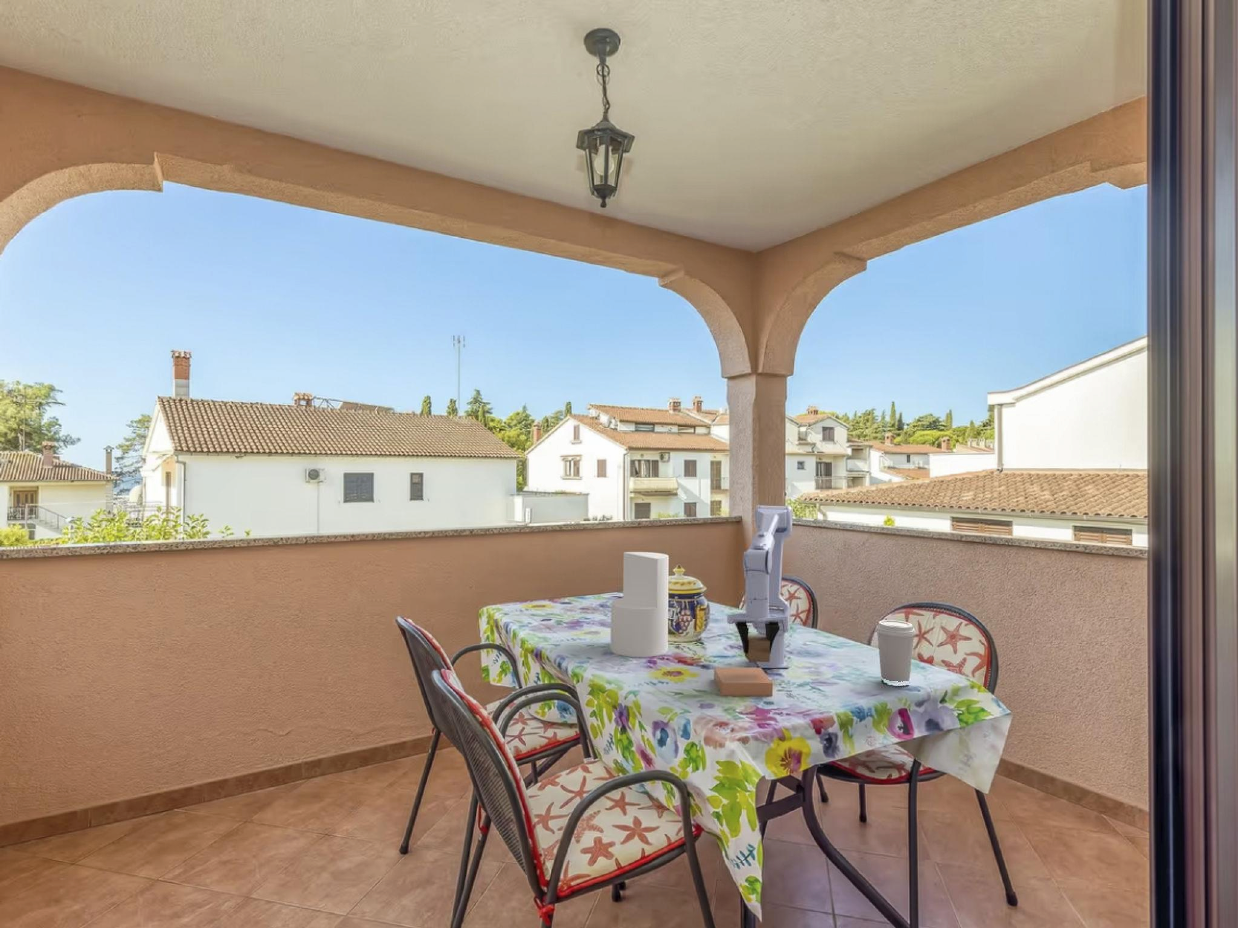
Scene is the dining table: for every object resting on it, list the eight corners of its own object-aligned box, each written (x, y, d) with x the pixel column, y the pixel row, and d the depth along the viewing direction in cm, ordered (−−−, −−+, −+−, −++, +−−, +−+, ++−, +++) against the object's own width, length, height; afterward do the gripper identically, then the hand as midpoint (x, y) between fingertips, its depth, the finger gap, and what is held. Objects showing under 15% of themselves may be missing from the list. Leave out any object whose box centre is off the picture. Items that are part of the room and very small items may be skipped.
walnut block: (744, 655, 162) (744, 636, 162) (764, 655, 162) (764, 636, 162) (749, 661, 157) (749, 641, 157) (769, 661, 157) (769, 641, 157)
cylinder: (645, 638, 205) (645, 550, 205) (679, 651, 190) (680, 556, 191) (599, 646, 195) (600, 554, 195) (632, 660, 181) (633, 561, 181)
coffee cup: (868, 682, 164) (868, 623, 164) (884, 674, 170) (884, 617, 170) (906, 691, 157) (907, 630, 157) (921, 682, 163) (922, 623, 164)
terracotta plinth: (714, 679, 165) (714, 667, 165) (760, 679, 165) (760, 667, 165) (722, 695, 153) (722, 682, 153) (772, 695, 153) (772, 682, 153)
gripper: (731, 600, 155) (731, 656, 155) (790, 601, 156) (790, 657, 156) (725, 595, 162) (725, 648, 162) (782, 595, 163) (782, 649, 163)
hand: (756, 652), depth 159 cm, fingers closed on walnut block, 5 cm apart
